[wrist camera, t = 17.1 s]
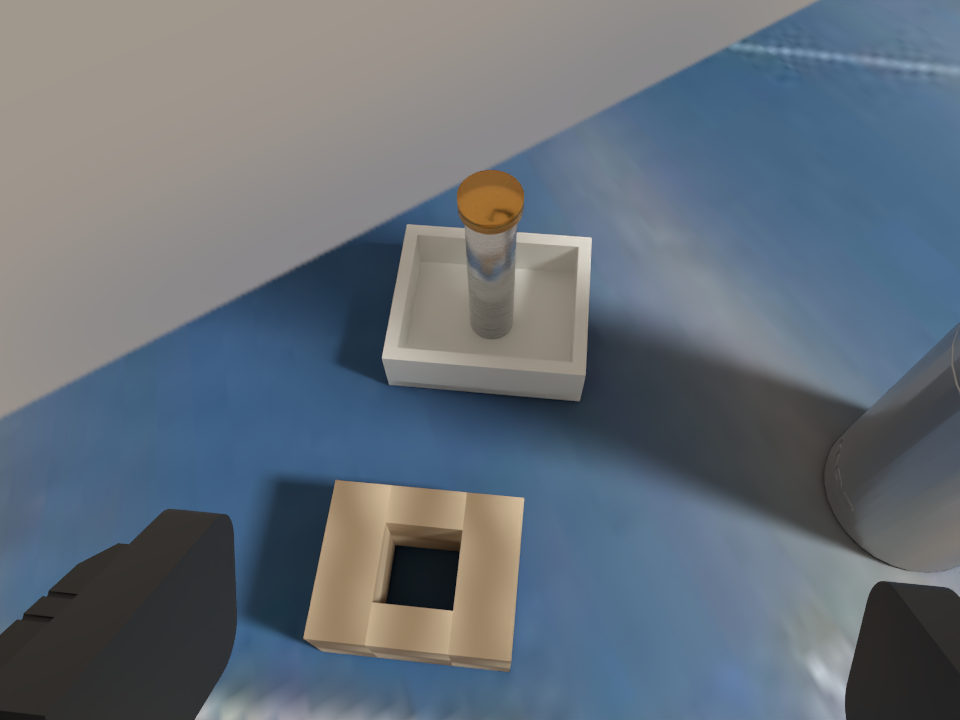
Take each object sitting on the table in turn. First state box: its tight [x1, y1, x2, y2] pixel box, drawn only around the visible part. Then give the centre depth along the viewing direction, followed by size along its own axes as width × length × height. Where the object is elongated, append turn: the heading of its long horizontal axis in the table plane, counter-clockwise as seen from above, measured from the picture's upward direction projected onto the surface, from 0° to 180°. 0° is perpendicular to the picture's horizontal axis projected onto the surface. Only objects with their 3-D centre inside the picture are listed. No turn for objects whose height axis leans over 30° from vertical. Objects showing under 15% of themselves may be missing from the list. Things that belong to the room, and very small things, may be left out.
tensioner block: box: [303, 480, 524, 672], centre depth 40 cm, size 10×8×4 cm
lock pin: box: [457, 170, 524, 339], centre depth 44 cm, size 3×3×12 cm
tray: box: [382, 224, 592, 401], centre depth 48 cm, size 12×10×4 cm
